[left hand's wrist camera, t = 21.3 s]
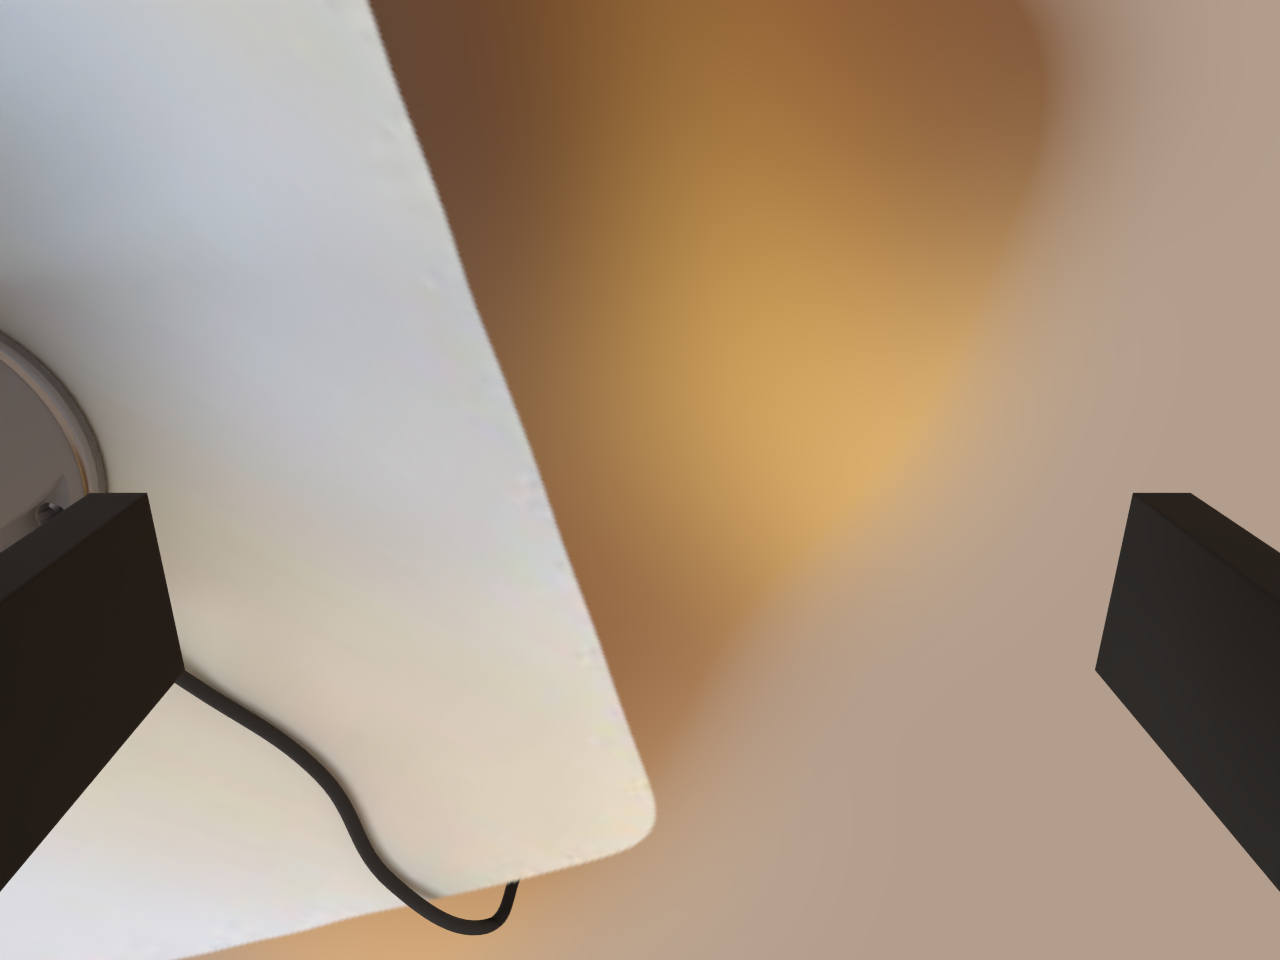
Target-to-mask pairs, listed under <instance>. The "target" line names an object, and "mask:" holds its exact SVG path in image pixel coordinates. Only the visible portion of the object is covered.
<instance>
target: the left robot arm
mask: <svg viewBox="0 0 1280 960" xmlns="http://www.w3.org/2000/svg"><path fill="white" fill-rule="evenodd" d="M1095 670H1096V672H1097V673H1098V674H1099V675H1100V676H1101V678H1102V679H1103V680H1104V681H1105V682H1106V684H1107V685H1108V686H1109V687H1110V688H1111V690H1112V691H1113V692H1114V693H1115V694H1116V696H1117V697H1118V698H1119V699H1120V700H1121V702H1122V703H1123V704H1124V705H1125V706H1126V708H1127V709H1128V710H1129V711H1130V712H1131V714H1132V715H1133V716H1134V717H1135V718H1136V720H1137V721H1138V722H1139V723H1140V724H1141V726H1142V727H1143V728H1144V729H1145V730H1146V732H1147V733H1148V734H1149V735H1150V736H1151V738H1152V739H1153V740H1154V741H1155V742H1156V744H1157V745H1158V746H1159V747H1160V748H1161V750H1162V751H1163V752H1164V753H1165V754H1166V756H1167V757H1168V758H1169V759H1170V760H1171V762H1172V763H1173V764H1174V765H1175V766H1176V768H1177V769H1178V770H1179V771H1180V772H1181V774H1182V775H1183V776H1184V777H1185V778H1186V780H1187V781H1188V782H1189V783H1190V784H1191V786H1192V787H1193V788H1194V789H1195V790H1196V792H1197V793H1198V794H1199V795H1200V796H1201V798H1202V799H1203V800H1204V801H1205V802H1206V804H1207V805H1208V806H1209V807H1210V808H1211V810H1212V811H1213V812H1214V813H1215V814H1216V816H1217V817H1218V818H1219V819H1220V820H1221V822H1222V823H1223V824H1224V825H1225V826H1226V828H1227V829H1228V830H1229V831H1230V832H1231V834H1232V835H1233V836H1234V837H1235V838H1236V840H1237V841H1238V842H1239V843H1240V844H1241V846H1242V847H1243V848H1244V849H1245V850H1246V852H1247V853H1248V854H1249V855H1250V856H1251V858H1252V859H1253V860H1254V861H1255V862H1256V864H1257V865H1258V866H1259V867H1260V868H1261V870H1262V871H1263V872H1264V873H1265V874H1266V876H1267V877H1268V878H1269V879H1270V880H1271V882H1272V883H1273V884H1274V885H1275V886H1276V888H1277V889H1278V890H1279V891H1280V553H1279V552H1278V551H1276V550H1275V549H1273V548H1272V547H1270V546H1269V545H1267V544H1266V543H1264V542H1263V541H1261V540H1260V539H1258V538H1257V537H1255V536H1254V535H1252V534H1251V533H1249V532H1248V531H1246V530H1245V529H1244V528H1242V527H1241V526H1239V525H1238V524H1236V523H1235V522H1233V521H1232V520H1230V519H1229V518H1227V517H1226V516H1224V515H1223V514H1221V513H1220V512H1218V511H1217V510H1215V509H1214V508H1212V507H1211V506H1209V505H1208V504H1206V503H1205V502H1203V501H1202V500H1200V499H1199V498H1197V497H1196V496H1194V495H1193V494H1191V493H1133V496H1132V500H1131V505H1130V509H1129V514H1128V519H1127V523H1126V528H1125V533H1124V537H1123V542H1122V547H1121V551H1120V556H1119V561H1118V565H1117V570H1116V575H1115V579H1114V584H1113V589H1112V593H1111V598H1110V603H1109V607H1108V612H1107V617H1106V621H1105V626H1104V631H1103V635H1102V640H1101V645H1100V649H1099V654H1098V659H1097V664H1096V668H1095ZM174 683H176V684H177V685H179V686H180V687H182V688H183V689H185V690H187V691H188V692H190V693H191V694H193V695H194V696H196V697H197V698H199V699H200V700H202V701H203V702H205V703H207V704H208V705H210V706H212V707H213V708H215V709H216V710H218V711H220V712H221V713H223V714H225V715H226V716H228V717H230V718H231V719H233V720H235V721H236V722H238V723H239V724H241V725H243V726H244V727H246V728H248V729H249V730H251V731H253V732H254V733H256V734H257V735H259V736H260V737H262V738H264V739H265V740H267V741H268V742H270V743H271V744H273V745H274V746H275V747H277V748H278V749H280V750H281V751H282V752H284V753H285V754H286V755H288V756H289V757H290V758H291V759H293V760H294V761H295V762H296V763H297V764H299V765H300V766H301V767H302V768H303V769H304V770H305V771H306V772H308V773H309V774H310V775H311V776H312V777H313V778H314V779H315V780H316V781H317V782H318V784H319V785H320V786H321V787H322V788H323V789H324V790H325V792H326V793H327V794H328V796H329V797H330V798H331V800H332V801H333V803H334V805H335V806H336V808H337V810H338V812H339V814H340V815H341V817H342V820H343V822H344V824H345V826H346V828H347V830H348V832H349V835H350V837H351V839H352V841H353V843H354V845H355V847H356V849H357V851H358V853H359V854H360V856H361V858H362V859H363V861H364V862H365V864H366V865H367V867H368V868H369V869H370V871H371V872H372V873H373V874H374V875H375V877H376V878H377V879H378V880H379V881H380V882H381V883H382V884H383V885H384V886H385V887H386V888H387V889H389V890H390V891H391V892H392V893H393V894H394V895H396V896H397V897H398V898H399V899H400V900H402V901H403V902H404V903H405V904H407V905H408V906H409V907H410V908H412V909H413V910H414V911H416V912H417V913H419V914H420V915H421V916H423V917H424V918H426V919H428V920H429V921H431V922H432V923H434V924H436V925H438V926H440V927H442V928H444V929H447V930H449V931H452V932H455V933H459V934H464V935H482V934H487V933H490V932H492V931H494V930H496V929H498V928H499V927H501V926H502V925H503V924H504V923H505V921H506V920H507V918H508V916H509V914H510V912H511V909H512V906H513V903H514V899H515V895H516V892H517V888H518V884H519V882H520V879H519V880H516V881H511V882H508V883H507V884H506V888H505V891H504V895H503V898H502V901H501V904H500V906H499V908H498V910H497V912H496V913H495V914H494V915H493V916H492V917H491V918H488V919H484V920H465V919H461V918H457V917H454V916H452V915H450V914H447V913H445V912H443V911H442V910H440V909H438V908H436V907H435V906H433V905H432V904H430V903H429V902H427V901H426V900H424V899H423V898H422V897H420V896H419V895H418V894H417V893H415V892H414V891H413V890H412V889H410V888H409V887H408V886H407V885H406V884H404V883H403V882H402V881H401V880H400V879H398V878H397V877H396V876H395V875H394V874H393V873H392V872H391V871H390V870H389V869H388V868H387V867H386V866H385V865H384V864H383V862H382V861H381V860H380V858H379V857H378V856H377V854H376V853H375V851H374V849H373V847H372V846H371V844H370V842H369V840H368V838H367V836H366V834H365V831H364V829H363V827H362V825H361V823H360V820H359V818H358V816H357V814H356V812H355V810H354V808H353V806H352V804H351V802H350V800H349V799H348V797H347V795H346V794H345V792H344V791H343V789H342V788H341V787H340V785H339V784H338V783H337V781H336V780H335V779H334V778H333V776H332V775H331V774H330V773H329V772H328V771H327V770H326V769H325V768H324V767H323V766H322V765H321V764H320V763H319V762H318V761H317V760H316V759H315V758H314V757H313V756H312V755H310V754H309V753H308V752H307V751H306V750H305V749H303V748H302V747H301V746H300V745H299V744H297V743H296V742H295V741H293V740H292V739H291V738H289V737H288V736H287V735H285V734H284V733H282V732H281V731H280V730H278V729H277V728H275V727H274V726H272V725H271V724H269V723H267V722H266V721H264V720H263V719H261V718H259V717H258V716H256V715H255V714H253V713H251V712H250V711H248V710H246V709H245V708H243V707H242V706H240V705H238V704H237V703H235V702H233V701H232V700H230V699H228V698H227V697H225V696H224V695H222V694H220V693H219V692H217V691H216V690H214V689H212V688H211V687H209V686H208V685H206V684H205V683H203V682H202V681H200V680H199V679H197V678H196V677H194V676H193V675H191V674H190V673H188V672H187V671H185V668H184V663H183V659H182V654H181V649H180V645H179V640H178V635H177V631H176V626H175V621H174V617H173V612H172V607H171V603H170V598H169V593H168V589H167V584H166V579H165V575H164V570H163V565H162V561H161V556H160V551H159V547H158V542H157V537H156V533H155V528H154V523H153V519H152V514H151V509H150V505H149V500H148V495H147V493H106V481H105V472H104V468H103V463H102V459H101V455H100V452H99V449H98V446H97V443H96V440H95V438H94V436H93V434H92V431H91V429H90V427H89V425H88V423H87V421H86V419H85V417H84V416H83V414H82V412H81V410H80V409H79V407H78V406H77V404H76V403H75V401H74V400H73V398H72V397H71V396H70V394H69V393H68V392H67V390H66V389H65V388H64V387H63V385H62V384H61V383H60V382H59V381H58V380H57V379H56V377H55V376H54V375H53V374H52V373H51V372H50V371H49V370H48V369H47V368H46V367H45V366H44V365H43V364H42V363H41V362H40V361H39V360H37V359H36V358H35V357H34V356H33V355H32V354H30V353H29V352H28V351H27V350H25V349H24V348H23V347H22V346H20V345H19V344H17V343H16V342H14V341H13V340H11V339H10V338H9V337H7V336H6V335H4V334H2V333H0V891H1V890H2V889H3V888H4V886H5V885H6V884H7V883H8V882H9V880H10V879H11V878H12V877H13V876H14V874H15V873H16V872H17V871H18V870H19V868H20V867H21V866H22V865H23V864H24V862H25V861H26V860H27V859H28V858H29V856H30V855H31V854H32V853H33V852H34V850H35V849H36V848H37V847H38V846H39V844H40V843H41V842H42V841H43V840H44V838H45V837H46V836H47V835H48V834H49V832H50V831H51V830H52V829H53V828H54V826H55V825H56V824H57V823H58V822H59V820H60V819H61V818H62V817H63V816H64V814H65V813H66V812H67V811H68V810H69V808H70V807H71V806H72V805H73V804H74V802H75V801H76V800H77V799H78V798H79V796H80V795H81V794H82V793H83V792H84V790H85V789H86V788H87V787H88V786H89V784H90V783H91V782H92V781H93V780H94V778H95V777H96V776H97V775H98V774H99V772H100V771H101V770H102V769H103V768H104V766H105V765H106V764H107V763H108V762H109V760H110V759H111V758H112V757H113V756H114V754H115V753H116V752H117V751H118V750H119V748H120V747H121V746H122V745H123V744H124V742H125V741H126V740H127V739H128V738H129V736H130V735H131V734H132V733H133V732H134V730H135V729H136V728H137V727H138V726H139V724H140V723H141V722H142V721H143V720H144V718H145V717H146V716H147V715H148V714H149V712H150V711H151V710H152V709H153V708H154V706H155V705H156V704H157V703H158V702H159V700H160V699H161V698H162V697H163V696H164V694H165V693H166V692H167V691H168V690H169V688H170V687H171V686H172V685H173V684H174Z"/></svg>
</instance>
